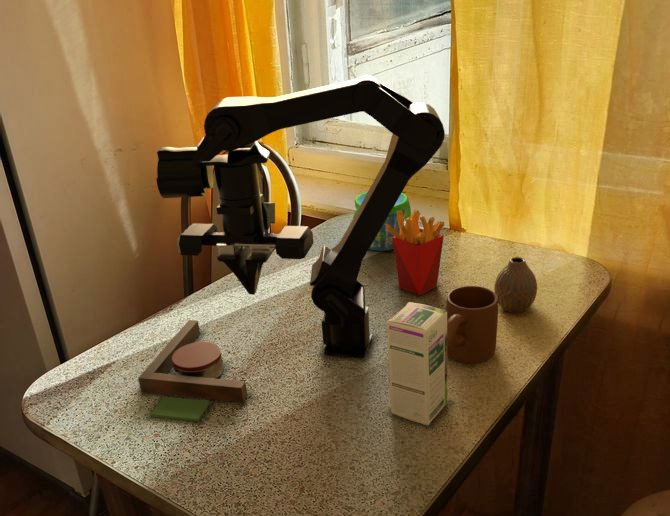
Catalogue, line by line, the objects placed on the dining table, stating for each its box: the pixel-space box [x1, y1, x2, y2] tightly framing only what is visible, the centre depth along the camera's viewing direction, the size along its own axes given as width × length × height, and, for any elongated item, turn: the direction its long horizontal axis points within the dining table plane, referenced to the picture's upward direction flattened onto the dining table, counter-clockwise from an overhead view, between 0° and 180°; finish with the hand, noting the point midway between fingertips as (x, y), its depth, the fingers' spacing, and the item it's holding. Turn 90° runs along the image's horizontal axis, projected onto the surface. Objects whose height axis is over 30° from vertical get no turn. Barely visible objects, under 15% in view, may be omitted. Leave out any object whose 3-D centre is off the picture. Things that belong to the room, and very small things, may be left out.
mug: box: [445, 285, 499, 365], centre depth 98 cm, size 12×8×9 cm, turn 148°
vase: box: [493, 256, 538, 314], centre depth 111 cm, size 7×7×9 cm
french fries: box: [385, 209, 445, 296], centre depth 116 cm, size 9×8×15 cm
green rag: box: [150, 396, 211, 422], centre depth 92 cm, size 7×4×1 cm, turn 78°
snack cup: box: [352, 191, 412, 252], centre depth 136 cm, size 16×10×10 cm
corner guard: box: [137, 319, 248, 403], centre depth 101 cm, size 16×17×2 cm
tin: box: [172, 341, 224, 379], centre depth 99 cm, size 7×7×3 cm
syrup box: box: [386, 301, 448, 427], centre depth 86 cm, size 6×6×14 cm
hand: (252, 293), depth 100 cm, fingers closed
